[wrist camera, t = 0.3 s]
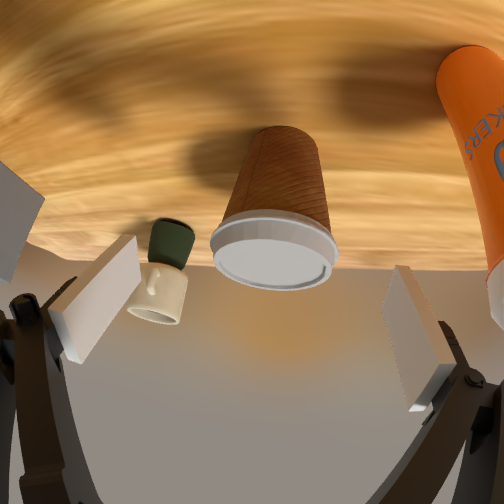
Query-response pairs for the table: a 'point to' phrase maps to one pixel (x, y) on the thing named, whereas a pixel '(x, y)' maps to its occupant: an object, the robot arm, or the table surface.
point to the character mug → (163, 275)
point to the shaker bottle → (480, 147)
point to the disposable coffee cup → (277, 216)
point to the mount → (15, 219)
